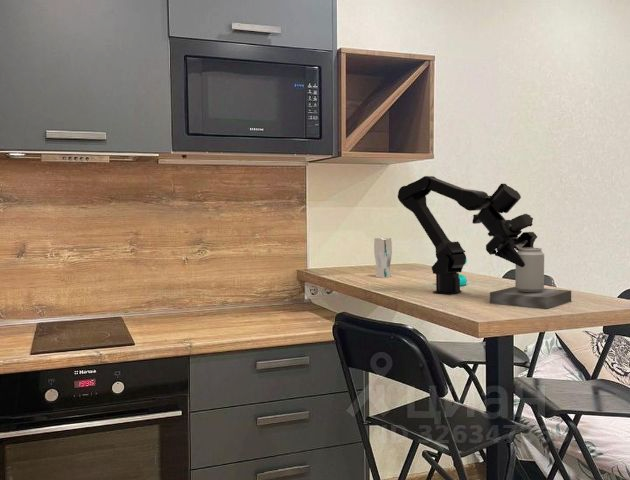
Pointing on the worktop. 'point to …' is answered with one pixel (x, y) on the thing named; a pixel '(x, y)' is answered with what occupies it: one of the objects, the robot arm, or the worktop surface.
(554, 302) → the plinth
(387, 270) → the white piece
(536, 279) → the can
